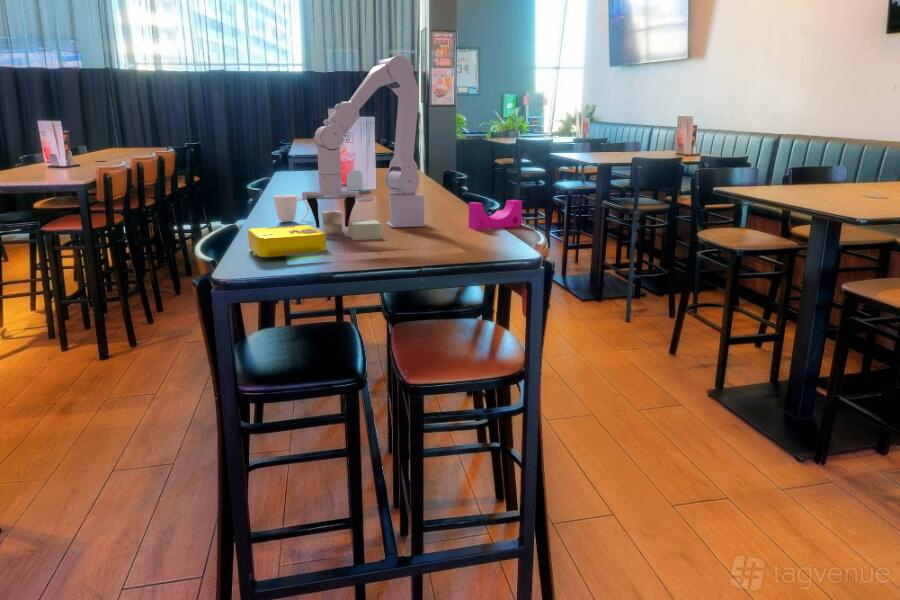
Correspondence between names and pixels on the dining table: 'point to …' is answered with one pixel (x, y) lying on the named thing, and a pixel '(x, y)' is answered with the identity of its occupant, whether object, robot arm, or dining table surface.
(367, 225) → the sage base block
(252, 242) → the element tile
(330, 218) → the ash block
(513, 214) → the toy block
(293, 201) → the cup
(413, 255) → the dining table surface
